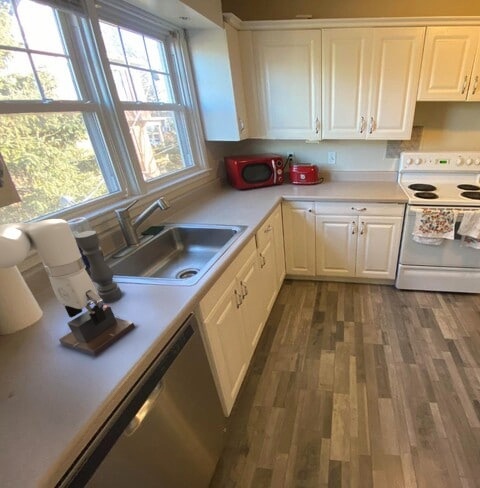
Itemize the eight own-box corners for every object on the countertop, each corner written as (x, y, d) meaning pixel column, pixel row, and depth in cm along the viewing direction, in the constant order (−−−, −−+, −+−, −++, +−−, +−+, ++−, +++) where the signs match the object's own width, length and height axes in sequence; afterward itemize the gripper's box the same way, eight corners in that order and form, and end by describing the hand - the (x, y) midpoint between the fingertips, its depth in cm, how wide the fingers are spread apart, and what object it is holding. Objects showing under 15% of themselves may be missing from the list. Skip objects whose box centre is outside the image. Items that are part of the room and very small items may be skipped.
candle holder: (111, 291, 104) (85, 229, 93) (126, 293, 103) (101, 230, 92) (96, 302, 98) (67, 237, 87) (112, 303, 98) (85, 238, 87)
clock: (86, 343, 78) (77, 325, 75) (75, 339, 80) (66, 322, 77) (117, 322, 86) (110, 305, 83) (106, 319, 87) (99, 302, 84)
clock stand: (59, 346, 80) (55, 340, 79) (104, 316, 91) (102, 311, 90) (93, 358, 76) (90, 352, 75) (136, 326, 87) (134, 320, 86)
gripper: (26, 267, 72) (52, 319, 79) (72, 279, 67) (96, 334, 75) (59, 254, 79) (81, 304, 86) (103, 265, 74) (122, 316, 81)
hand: (88, 318), depth 80 cm, fingers open, 9 cm apart
